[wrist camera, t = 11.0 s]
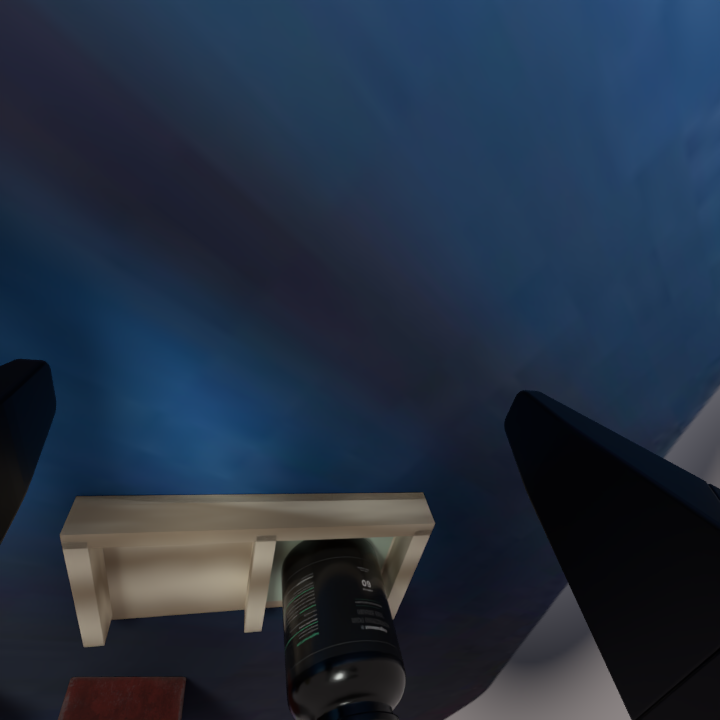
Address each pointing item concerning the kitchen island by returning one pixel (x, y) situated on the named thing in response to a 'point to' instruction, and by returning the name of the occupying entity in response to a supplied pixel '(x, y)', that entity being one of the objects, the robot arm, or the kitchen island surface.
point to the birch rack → (222, 550)
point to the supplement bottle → (339, 633)
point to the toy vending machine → (124, 698)
